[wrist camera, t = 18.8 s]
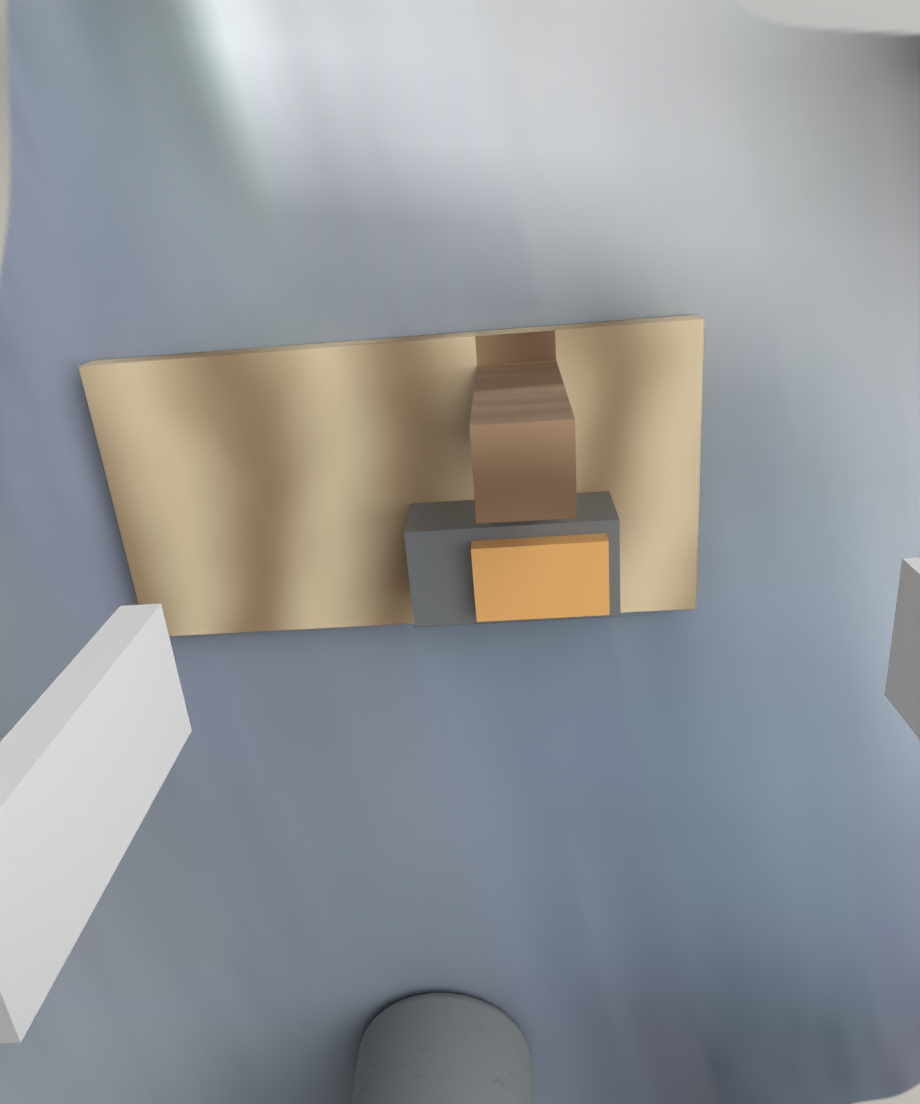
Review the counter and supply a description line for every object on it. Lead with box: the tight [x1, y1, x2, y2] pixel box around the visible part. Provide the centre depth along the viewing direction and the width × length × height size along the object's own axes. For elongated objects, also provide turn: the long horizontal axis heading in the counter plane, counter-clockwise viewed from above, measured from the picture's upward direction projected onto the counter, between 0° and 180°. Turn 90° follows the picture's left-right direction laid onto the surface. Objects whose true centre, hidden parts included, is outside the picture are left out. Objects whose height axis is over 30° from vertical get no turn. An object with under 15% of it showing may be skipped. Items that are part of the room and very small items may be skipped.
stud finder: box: [404, 491, 620, 627], centre depth 34 cm, size 8×4×4 cm, turn 95°
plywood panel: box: [78, 314, 704, 636], centre depth 36 cm, size 24×12×1 cm, turn 95°
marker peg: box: [469, 360, 577, 523], centre depth 29 cm, size 3×3×9 cm
